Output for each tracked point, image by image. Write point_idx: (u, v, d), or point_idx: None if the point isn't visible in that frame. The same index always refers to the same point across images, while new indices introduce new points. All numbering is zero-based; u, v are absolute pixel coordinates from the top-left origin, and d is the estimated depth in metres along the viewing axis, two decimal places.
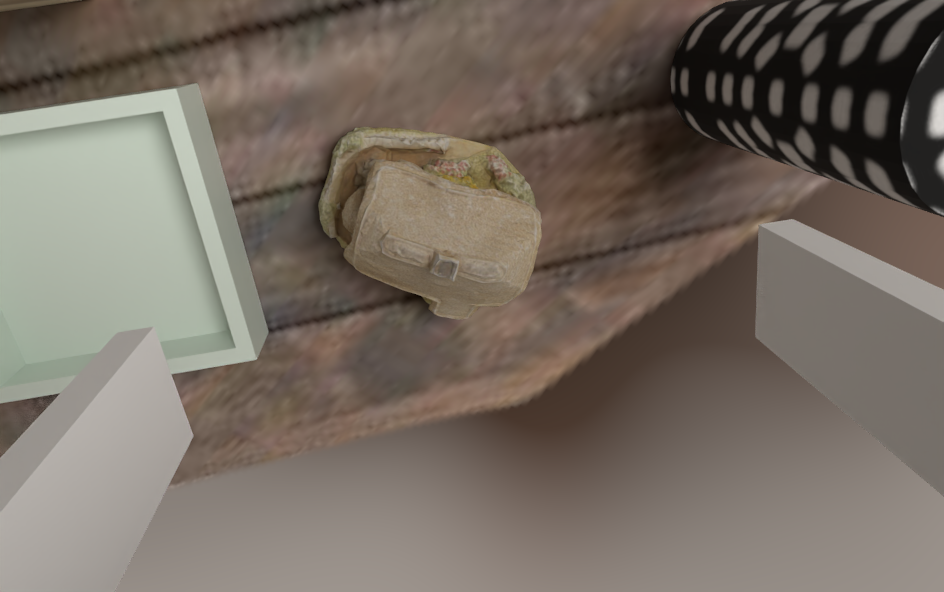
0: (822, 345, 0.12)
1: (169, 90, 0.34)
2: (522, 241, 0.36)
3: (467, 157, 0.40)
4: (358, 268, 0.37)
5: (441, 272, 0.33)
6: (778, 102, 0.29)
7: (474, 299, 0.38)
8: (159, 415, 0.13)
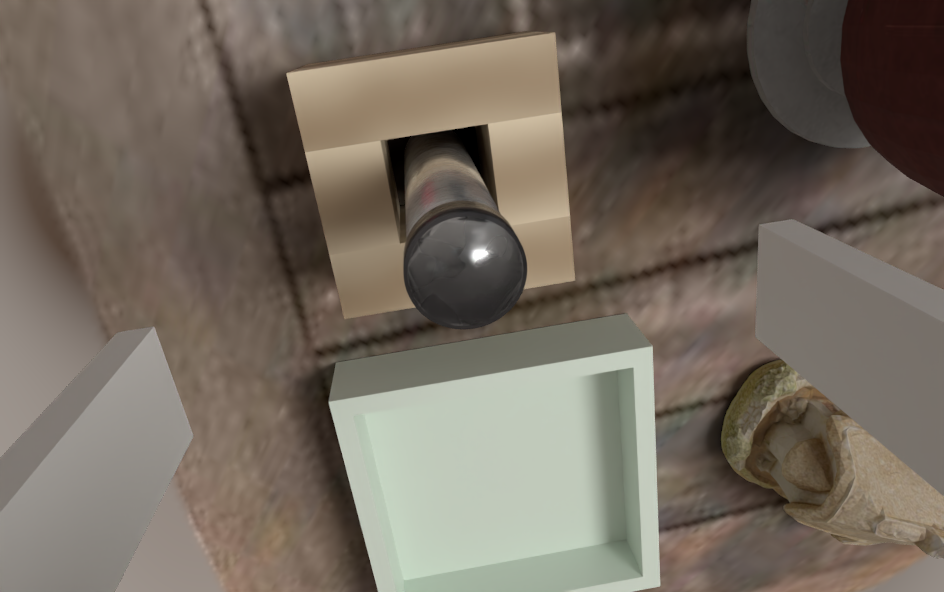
0: (823, 345, 0.12)
1: (645, 348, 0.32)
2: None
3: None
4: (799, 519, 0.36)
5: (938, 553, 0.32)
6: None
7: None
8: (159, 415, 0.13)
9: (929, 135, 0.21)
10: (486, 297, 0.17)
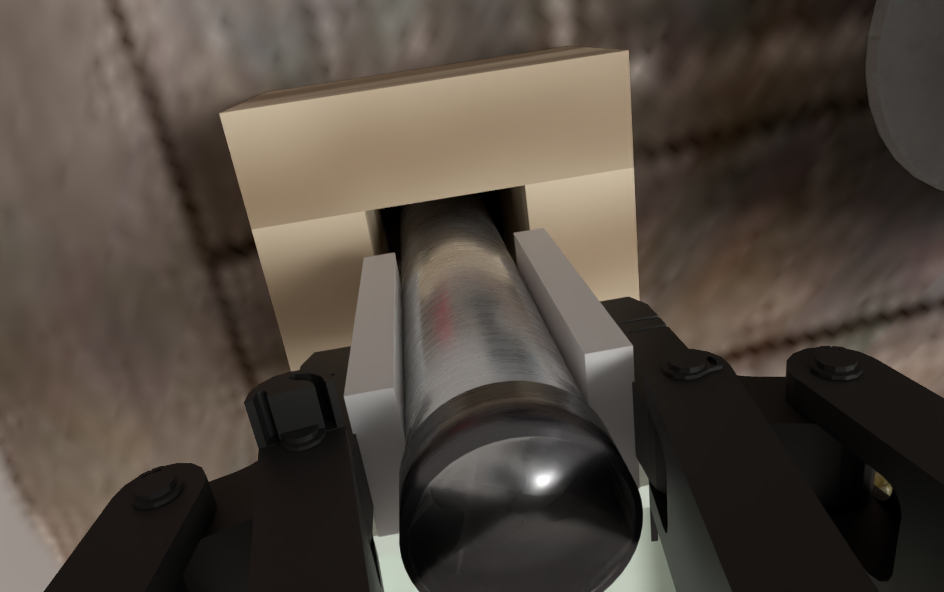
0: None
1: None
2: None
3: None
4: None
5: None
6: None
7: None
8: None
9: None
10: (561, 573, 0.09)
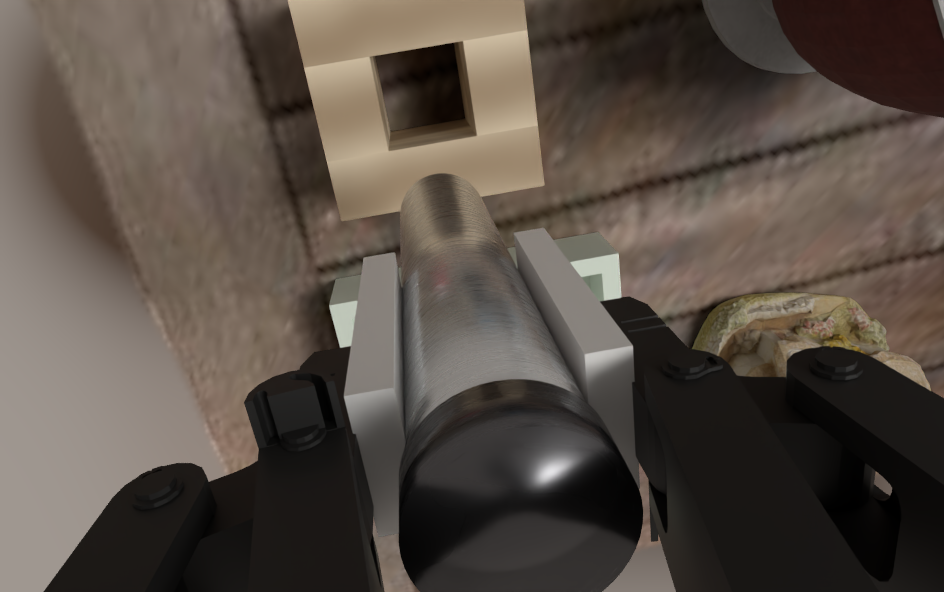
0: None
1: (611, 255, 0.36)
2: None
3: (829, 312, 0.42)
4: None
5: None
6: None
7: None
8: None
9: (832, 29, 0.24)
10: (561, 571, 0.09)
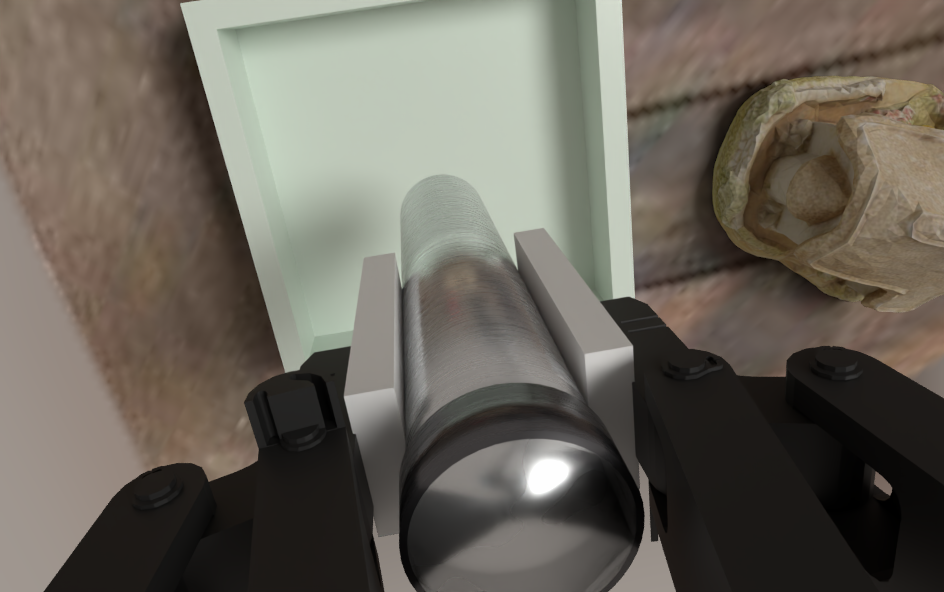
0: None
1: None
2: None
3: (904, 101, 0.31)
4: (814, 263, 0.28)
5: None
6: None
7: None
8: None
9: None
10: (562, 576, 0.09)
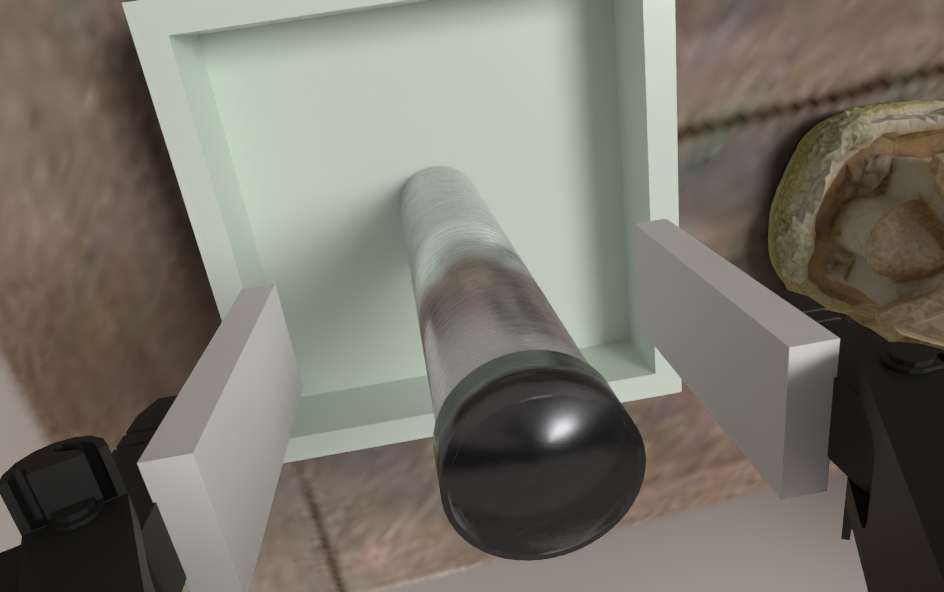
0: (678, 333, 0.14)
1: None
2: None
3: None
4: (901, 328, 0.24)
5: None
6: None
7: None
8: (283, 362, 0.14)
9: None
10: (576, 512, 0.10)
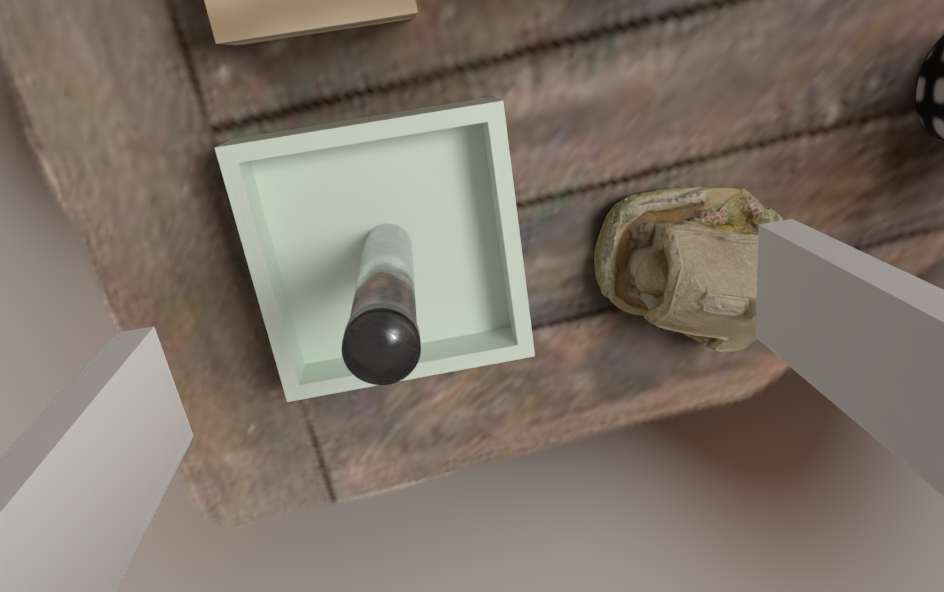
0: (822, 345, 0.12)
1: (496, 102, 0.36)
2: None
3: (722, 203, 0.43)
4: (658, 324, 0.41)
5: None
6: None
7: None
8: (159, 415, 0.13)
9: None
10: (395, 364, 0.27)
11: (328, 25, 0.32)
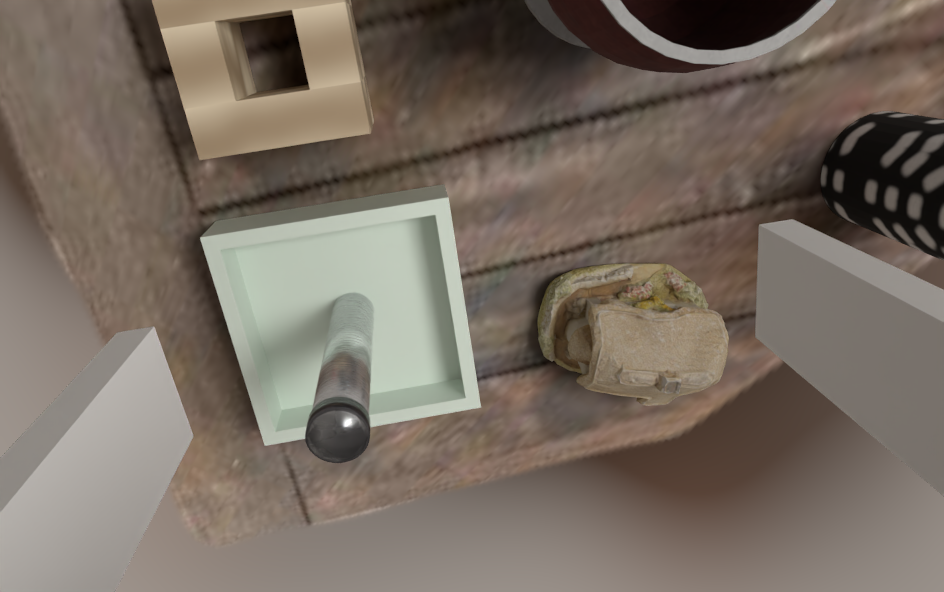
0: (822, 345, 0.12)
1: (442, 198, 0.42)
2: (717, 346, 0.45)
3: (648, 277, 0.49)
4: (588, 387, 0.47)
5: (668, 389, 0.43)
6: None
7: (681, 393, 0.48)
8: (159, 415, 0.13)
9: None
10: (349, 447, 0.33)
11: (294, 144, 0.38)
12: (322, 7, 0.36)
